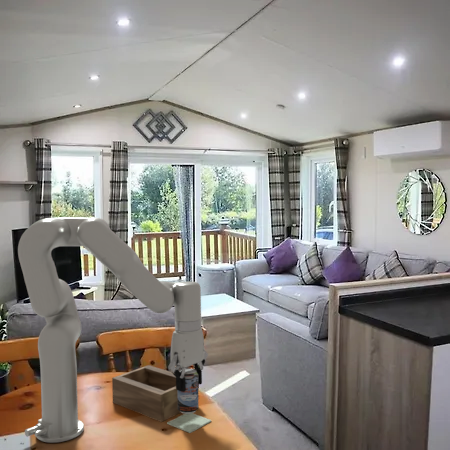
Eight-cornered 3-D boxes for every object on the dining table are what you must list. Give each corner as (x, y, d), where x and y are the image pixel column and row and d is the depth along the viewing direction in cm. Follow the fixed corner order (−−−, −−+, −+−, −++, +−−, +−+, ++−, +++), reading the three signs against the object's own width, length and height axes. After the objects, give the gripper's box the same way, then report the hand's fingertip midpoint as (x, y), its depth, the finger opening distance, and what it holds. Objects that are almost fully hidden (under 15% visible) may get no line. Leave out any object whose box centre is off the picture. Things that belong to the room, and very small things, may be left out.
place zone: (190, 433, 132) (190, 431, 132) (167, 423, 138) (167, 422, 138) (211, 421, 139) (211, 420, 139) (188, 413, 145) (188, 411, 145)
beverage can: (176, 417, 135) (174, 376, 134) (179, 405, 142) (177, 366, 141) (198, 416, 135) (196, 375, 134) (200, 404, 142) (199, 365, 141)
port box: (161, 421, 139) (160, 394, 139) (112, 402, 154) (112, 377, 153) (196, 404, 151) (196, 379, 151) (148, 388, 165) (148, 365, 165)
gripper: (198, 317, 147) (199, 375, 147) (156, 329, 133) (158, 393, 134) (217, 321, 142) (218, 381, 143) (176, 333, 129) (177, 399, 129)
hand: (189, 386), depth 138 cm, fingers closed on beverage can, 6 cm apart
